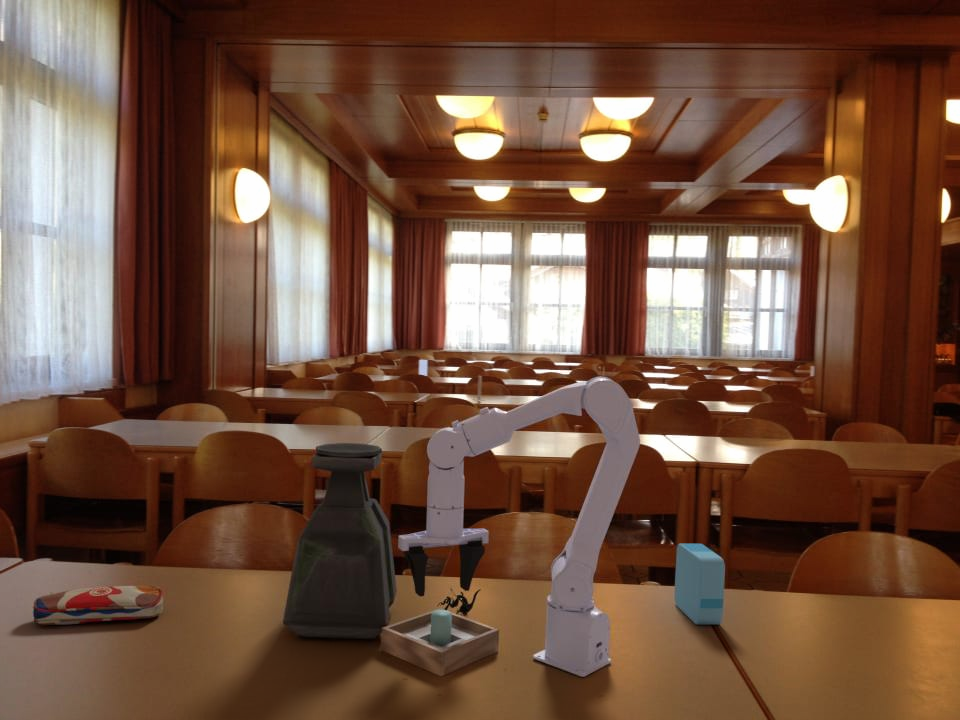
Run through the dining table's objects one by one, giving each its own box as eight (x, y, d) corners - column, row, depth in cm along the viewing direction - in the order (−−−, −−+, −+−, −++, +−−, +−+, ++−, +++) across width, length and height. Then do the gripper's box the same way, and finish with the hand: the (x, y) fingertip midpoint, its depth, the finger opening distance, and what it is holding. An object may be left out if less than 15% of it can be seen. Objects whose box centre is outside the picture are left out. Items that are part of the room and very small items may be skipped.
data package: (722, 627, 140) (726, 559, 139) (697, 627, 139) (701, 559, 139) (696, 603, 151) (699, 541, 151) (673, 603, 151) (676, 541, 150)
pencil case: (145, 634, 127) (146, 603, 127) (20, 631, 126) (21, 600, 126) (169, 609, 138) (170, 581, 138) (55, 606, 137) (55, 578, 137)
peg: (452, 654, 123) (454, 616, 123) (433, 656, 122) (434, 618, 122) (446, 646, 126) (448, 609, 126) (427, 648, 125) (428, 610, 125)
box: (498, 651, 125) (499, 629, 125) (440, 676, 115) (441, 652, 115) (439, 628, 134) (439, 608, 133) (381, 650, 124) (381, 627, 124)
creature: (424, 621, 140) (458, 623, 135) (420, 590, 140) (454, 591, 135) (454, 610, 146) (487, 611, 141) (450, 580, 147) (483, 581, 142)
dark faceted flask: (385, 647, 125) (392, 458, 124) (281, 643, 125) (286, 454, 124) (396, 607, 143) (402, 442, 142) (305, 604, 143) (310, 438, 142)
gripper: (410, 514, 117) (407, 605, 117) (498, 507, 123) (495, 594, 124) (394, 504, 123) (392, 590, 124) (478, 498, 129) (476, 580, 130)
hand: (442, 591), depth 124 cm, fingers open, 7 cm apart
